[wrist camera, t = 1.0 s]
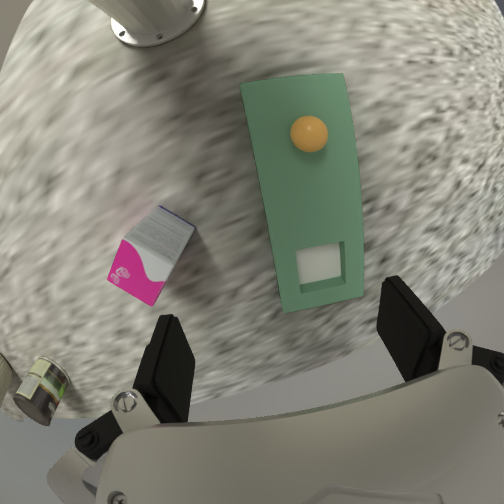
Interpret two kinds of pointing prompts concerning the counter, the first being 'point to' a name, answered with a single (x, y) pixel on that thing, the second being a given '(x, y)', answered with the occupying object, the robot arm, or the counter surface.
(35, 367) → the coffee can
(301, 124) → the ball
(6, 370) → the canister
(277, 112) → the green
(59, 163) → the counter surface
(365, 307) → the counter surface
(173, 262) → the supplement box
